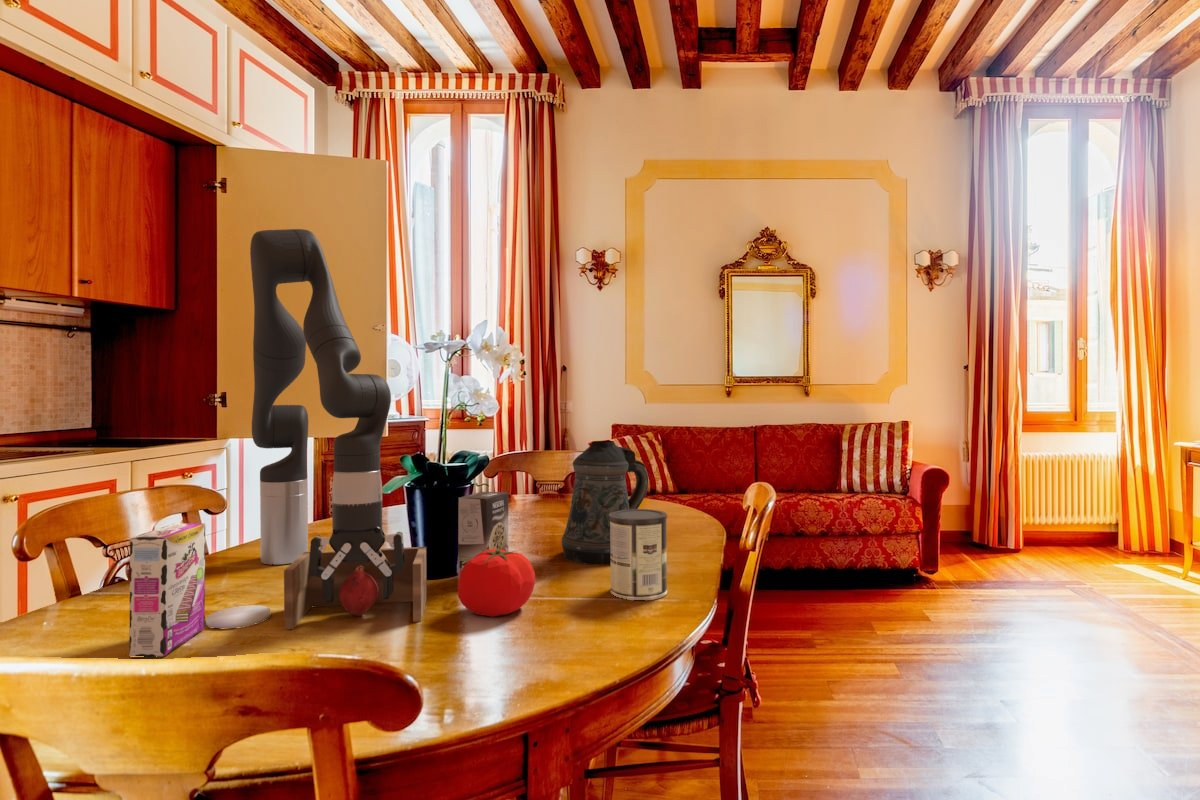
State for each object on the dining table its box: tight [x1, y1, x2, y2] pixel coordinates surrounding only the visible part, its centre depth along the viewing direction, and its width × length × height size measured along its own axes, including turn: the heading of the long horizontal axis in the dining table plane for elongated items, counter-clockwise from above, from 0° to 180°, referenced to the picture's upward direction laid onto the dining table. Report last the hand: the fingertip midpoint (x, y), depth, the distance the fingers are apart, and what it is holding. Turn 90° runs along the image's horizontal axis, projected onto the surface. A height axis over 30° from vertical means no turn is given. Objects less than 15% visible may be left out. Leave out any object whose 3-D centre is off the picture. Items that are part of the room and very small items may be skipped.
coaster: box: [205, 604, 271, 629], centre depth 106 cm, size 9×9×1 cm
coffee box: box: [457, 491, 510, 582], centre depth 130 cm, size 9×6×16 cm
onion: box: [339, 566, 378, 617], centre depth 108 cm, size 6×6×8 cm
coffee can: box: [609, 508, 668, 601], centre depth 120 cm, size 10×10×14 cm
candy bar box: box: [128, 522, 206, 659], centre depth 96 cm, size 11×5×16 cm, turn 5°
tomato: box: [457, 548, 536, 618], centre depth 110 cm, size 11×13×10 cm
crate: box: [283, 546, 428, 631], centre depth 109 cm, size 12×20×9 cm, turn 100°
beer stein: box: [561, 440, 650, 565], centre depth 148 cm, size 16×19×25 cm
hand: (358, 599), depth 107 cm, fingers open, 8 cm apart
